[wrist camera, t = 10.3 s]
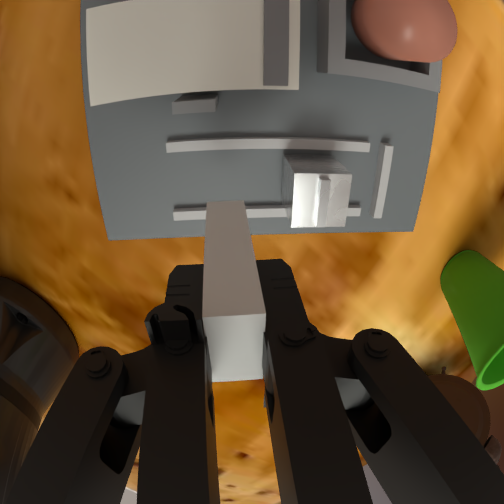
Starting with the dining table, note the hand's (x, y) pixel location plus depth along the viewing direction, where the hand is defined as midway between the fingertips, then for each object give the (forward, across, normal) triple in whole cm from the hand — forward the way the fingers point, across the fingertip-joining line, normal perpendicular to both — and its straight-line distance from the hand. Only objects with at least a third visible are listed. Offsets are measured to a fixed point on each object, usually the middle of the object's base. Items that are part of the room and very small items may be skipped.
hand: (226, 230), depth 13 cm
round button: (+4, +9, +10) cm, 14 cm away
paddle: (+4, -1, +8) cm, 9 cm away
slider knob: (+6, +5, 0) cm, 8 cm away
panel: (+7, +3, +5) cm, 9 cm away
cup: (+7, +22, -9) cm, 25 cm away
